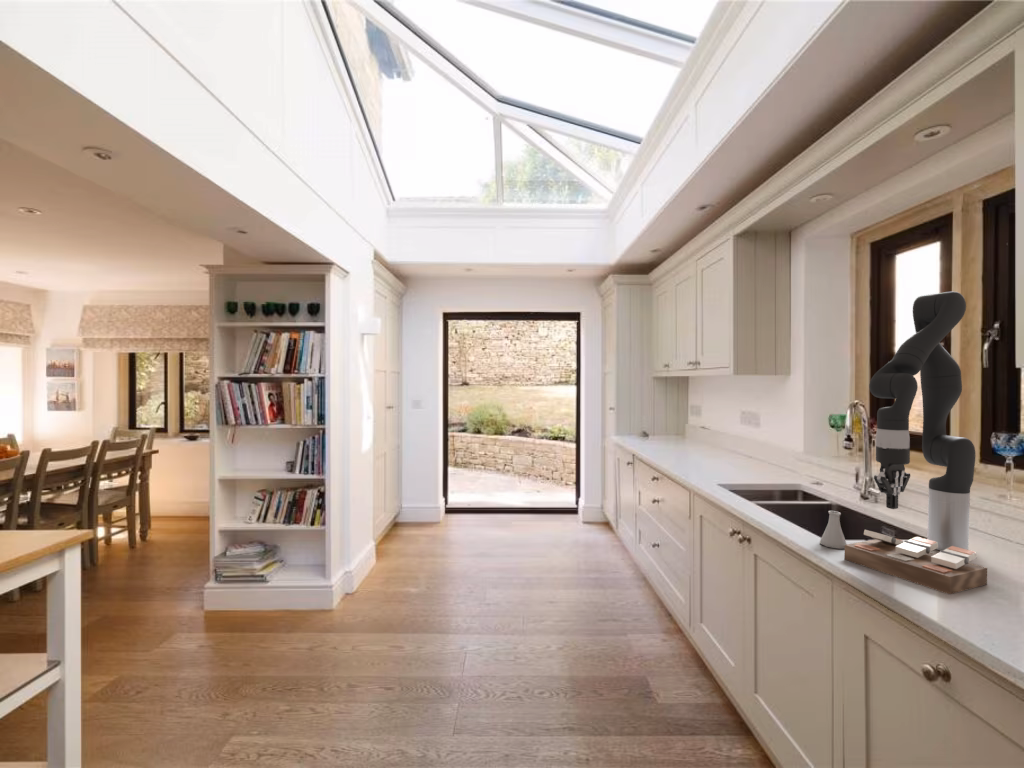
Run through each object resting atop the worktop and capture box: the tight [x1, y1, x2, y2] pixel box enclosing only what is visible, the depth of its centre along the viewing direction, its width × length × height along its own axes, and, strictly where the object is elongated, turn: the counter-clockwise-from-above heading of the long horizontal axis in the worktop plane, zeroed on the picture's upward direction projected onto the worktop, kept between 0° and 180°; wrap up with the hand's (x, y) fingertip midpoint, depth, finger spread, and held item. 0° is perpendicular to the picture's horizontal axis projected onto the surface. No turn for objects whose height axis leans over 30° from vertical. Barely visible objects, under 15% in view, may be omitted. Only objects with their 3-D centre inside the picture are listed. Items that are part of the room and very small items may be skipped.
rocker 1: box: [863, 529, 904, 545], centre depth 138 cm, size 9×5×2 cm, turn 114°
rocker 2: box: [895, 536, 938, 558], centre depth 131 cm, size 9×5×2 cm, turn 114°
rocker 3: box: [931, 546, 977, 569], centre depth 123 cm, size 9×5×2 cm, turn 114°
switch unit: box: [844, 539, 988, 595], centre depth 130 cm, size 16×24×4 cm, turn 24°
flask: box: [819, 510, 848, 550], centre depth 150 cm, size 7×7×10 cm
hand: (892, 508), depth 139 cm, fingers closed
